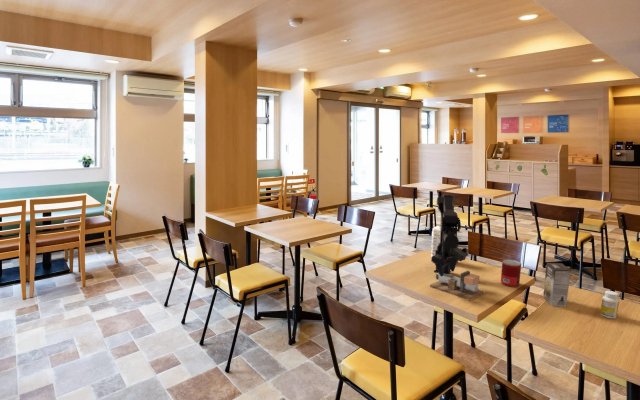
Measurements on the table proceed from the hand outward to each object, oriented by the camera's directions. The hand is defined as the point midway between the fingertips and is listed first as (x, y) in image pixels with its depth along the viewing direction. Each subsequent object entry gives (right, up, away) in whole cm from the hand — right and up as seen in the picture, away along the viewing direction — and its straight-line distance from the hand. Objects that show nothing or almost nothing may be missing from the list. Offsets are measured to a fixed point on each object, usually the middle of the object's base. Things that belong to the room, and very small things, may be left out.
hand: (447, 273), depth 182 cm
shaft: (+3, -5, -3) cm, 7 cm away
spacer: (+8, -2, -9) cm, 12 cm away
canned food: (+31, -6, +4) cm, 32 cm away
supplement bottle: (+54, -11, -28) cm, 62 cm away
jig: (+3, -7, -3) cm, 8 cm away
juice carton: (+8, 0, +40) cm, 40 cm away
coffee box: (+41, -9, -16) cm, 45 cm away
